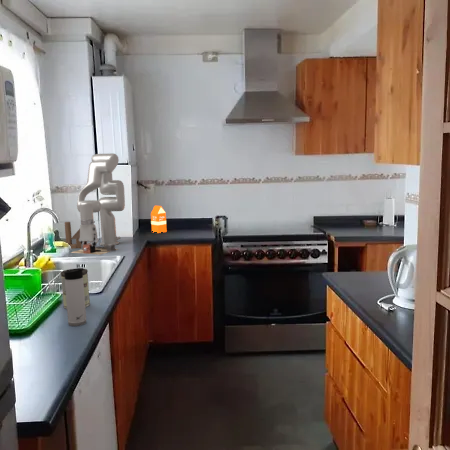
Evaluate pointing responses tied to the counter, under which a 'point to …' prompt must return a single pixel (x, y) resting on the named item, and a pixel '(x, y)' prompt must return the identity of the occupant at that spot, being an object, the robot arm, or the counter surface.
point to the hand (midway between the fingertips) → (89, 251)
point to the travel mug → (75, 297)
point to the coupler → (87, 248)
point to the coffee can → (86, 288)
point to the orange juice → (158, 219)
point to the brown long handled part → (69, 237)
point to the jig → (99, 249)
